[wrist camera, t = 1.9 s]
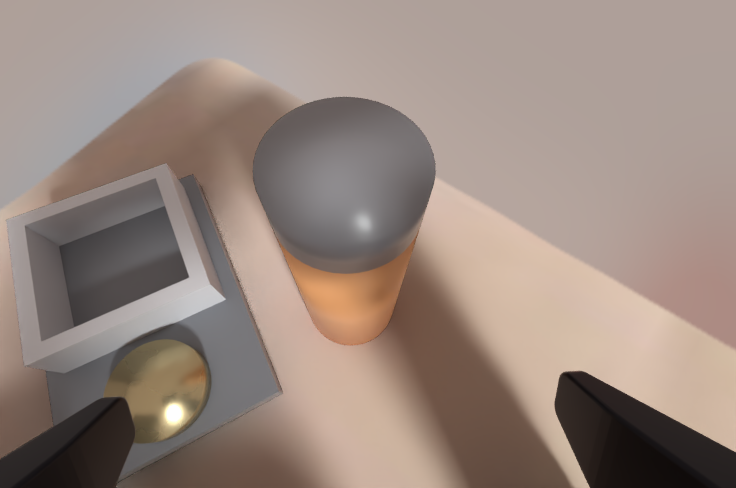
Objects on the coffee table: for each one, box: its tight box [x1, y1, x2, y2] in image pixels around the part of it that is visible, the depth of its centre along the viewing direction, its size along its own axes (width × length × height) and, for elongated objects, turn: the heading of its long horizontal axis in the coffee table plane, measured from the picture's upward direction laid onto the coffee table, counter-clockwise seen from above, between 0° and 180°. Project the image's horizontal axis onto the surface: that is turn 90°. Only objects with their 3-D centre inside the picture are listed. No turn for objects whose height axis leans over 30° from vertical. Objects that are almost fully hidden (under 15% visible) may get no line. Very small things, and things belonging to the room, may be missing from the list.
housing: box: [6, 163, 283, 482], centre depth 19 cm, size 15×10×4 cm, turn 27°
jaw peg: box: [253, 97, 435, 345], centre depth 16 cm, size 5×5×13 cm
